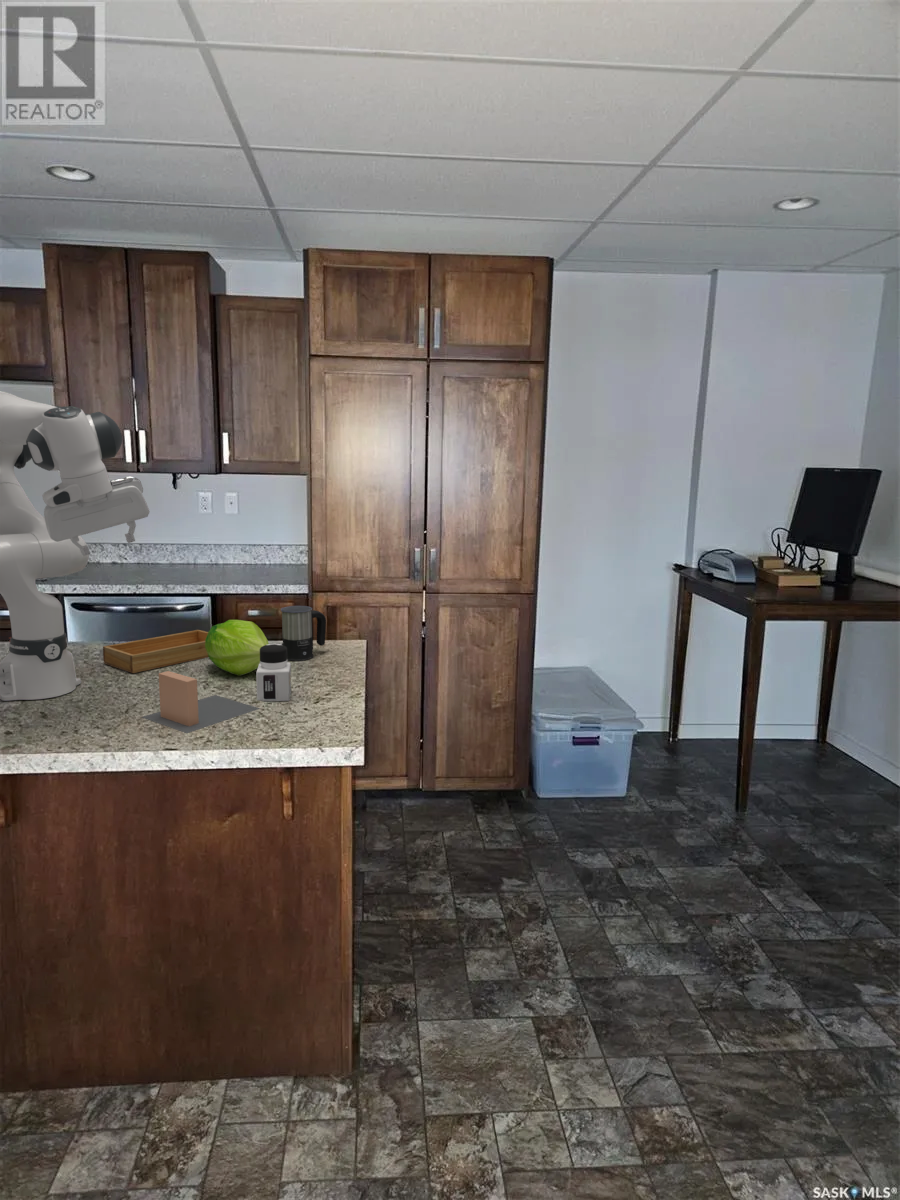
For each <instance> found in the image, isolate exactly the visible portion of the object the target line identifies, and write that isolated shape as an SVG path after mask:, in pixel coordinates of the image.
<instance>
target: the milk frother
mask: <svg viewBox="0 0 900 1200" xmlns="http://www.w3.org/2000/svg"><path fill="white" fill-rule="evenodd" d="M280 611H281V625H282V626H281V627H282V629H281V630H282V633H281V634H282V643H281V645H284V646H286V648H287V661H294V662H295V661H298V662H300V661H306V660H307V661H308V660H310V659H312V658H314V653H313V650H314V640H313V639H314V637H313V636H314V635H313V633H314V631H313V628H314V627H313V618H315V619H316V644H317V645H318V646H321V647H323V646H325V644H326V634H327V633H326V630H327V619H326V615H325V614H324V613H322V612H321V611H319V610H313V607H311V606H307V605H289V606H285V607H281V608H280Z"/></svg>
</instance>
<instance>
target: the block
mask: <svg viewBox="0 0 900 1200" xmlns="http://www.w3.org/2000/svg"><path fill="white" fill-rule="evenodd" d="M158 693H159V712H160V714H161V717H163V718H166V719H169V720H172V721H175V722H178V723H181V724H183V725H186V726H192V725H195V724H198V723H199V718H198V700H199V698H198V697H199V696H198V695H199V693H198V679H197V678H194V677H192V676H191V677H190V676H186V675H183V674H180V673H176V672H173V671H169V670H167V671H163V672H159V673H158Z"/></svg>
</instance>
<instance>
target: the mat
mask: <svg viewBox="0 0 900 1200" xmlns="http://www.w3.org/2000/svg"><path fill="white" fill-rule="evenodd" d="M260 709H261V708H260V707H257V706H253V705H249V704H247V703H244V702H239V701H237V700H233V699H230V698H227V697H223V696H219V695H217V694H214V695H211V696H208V697H207V696H206V697H204V698H201V699H198V718H199V723H198V724H195V725H192V726H186V725H183V724H181V723H178V722H175V721H172V720H169V719H166V718H163V717H161V714H160V711H157V712H155V713H151V714H150V713H149V714H147V715H144V716H141V719H142V718H143V719H145V720H147V721H151V722H154V723H157V724H159V725H162V726H165V727H168V728H170V729H173V730H177V731H179V732H182V733H186V734H190V733H192V732H196V731H198V730H201V729H204V728H207V727H210V726H213V725H216V724H219V723H221V722H224V721H228V720H231V719H233V718H236V717H239V716H242V715H245V714H248V713H251V712H254V711H257V710H260Z"/></svg>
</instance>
